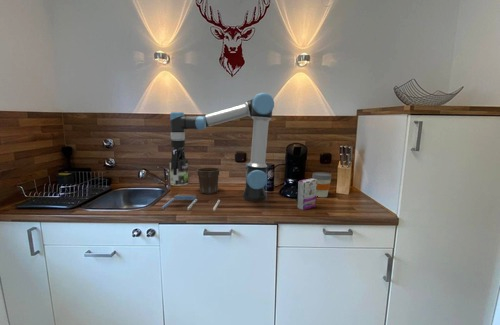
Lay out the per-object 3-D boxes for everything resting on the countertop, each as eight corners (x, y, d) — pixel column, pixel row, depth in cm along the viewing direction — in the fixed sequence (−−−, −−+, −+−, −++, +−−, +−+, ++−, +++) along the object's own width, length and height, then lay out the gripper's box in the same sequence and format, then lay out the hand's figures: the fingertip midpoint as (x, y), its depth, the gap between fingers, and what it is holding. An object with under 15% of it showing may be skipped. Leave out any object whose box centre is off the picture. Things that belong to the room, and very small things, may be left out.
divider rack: (220, 200, 149) (220, 196, 148) (214, 210, 131) (214, 206, 130) (173, 199, 150) (173, 195, 150) (161, 209, 133) (161, 204, 132)
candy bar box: (309, 204, 143) (310, 178, 141) (316, 206, 139) (317, 179, 137) (296, 208, 137) (297, 180, 134) (303, 210, 133) (304, 182, 130)
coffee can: (191, 182, 142) (190, 158, 140) (183, 186, 132) (182, 161, 130) (175, 181, 144) (174, 158, 142) (166, 185, 134) (165, 160, 132)
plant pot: (194, 190, 171) (193, 168, 169) (215, 187, 179) (215, 166, 176) (200, 196, 157) (200, 172, 155) (223, 193, 165) (223, 170, 162)
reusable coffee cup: (327, 199, 153) (329, 176, 151) (308, 196, 160) (309, 174, 157) (332, 194, 164) (333, 173, 161) (314, 191, 170) (315, 171, 168)
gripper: (178, 138, 145) (179, 174, 149) (163, 141, 123) (165, 182, 126) (190, 138, 145) (191, 174, 148) (177, 141, 122) (178, 183, 126)
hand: (179, 178), depth 137 cm, fingers closed on coffee can, 10 cm apart
